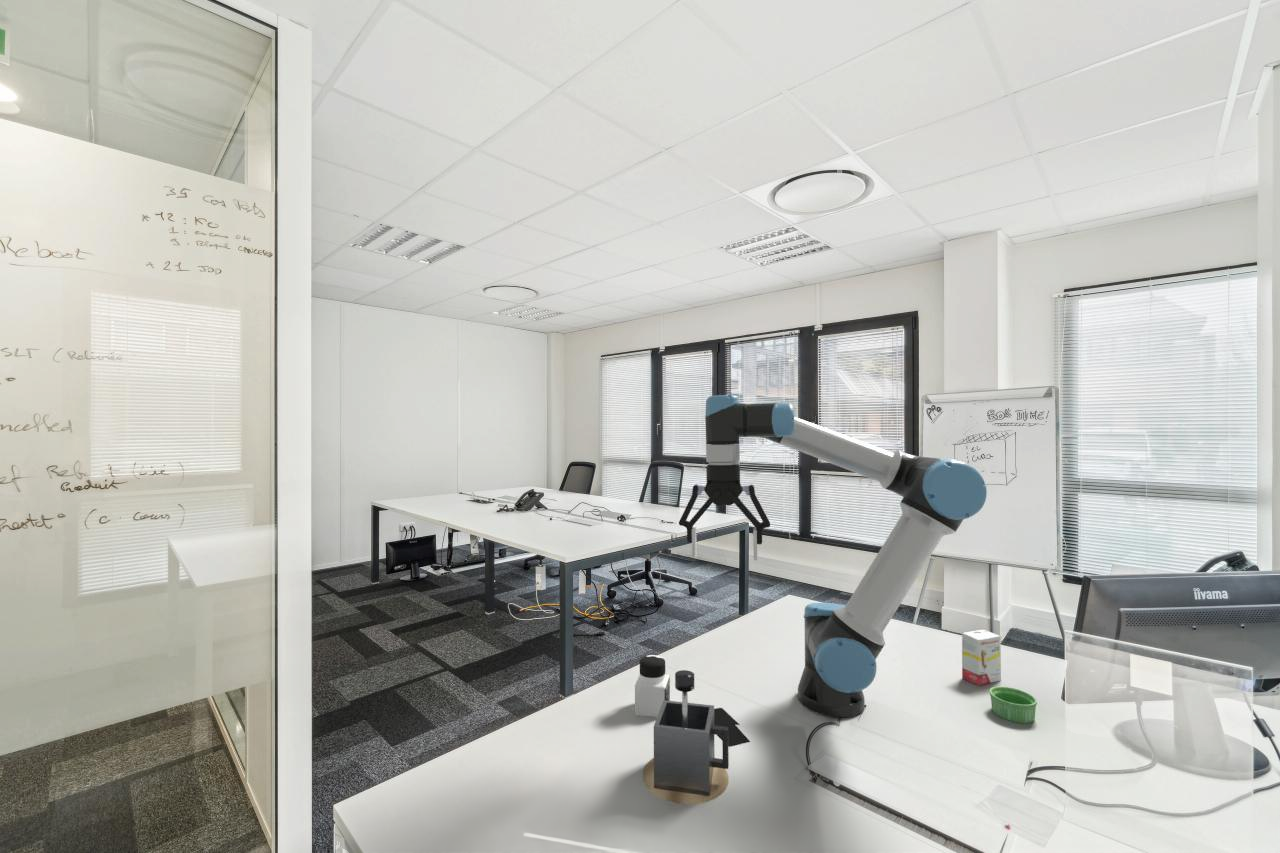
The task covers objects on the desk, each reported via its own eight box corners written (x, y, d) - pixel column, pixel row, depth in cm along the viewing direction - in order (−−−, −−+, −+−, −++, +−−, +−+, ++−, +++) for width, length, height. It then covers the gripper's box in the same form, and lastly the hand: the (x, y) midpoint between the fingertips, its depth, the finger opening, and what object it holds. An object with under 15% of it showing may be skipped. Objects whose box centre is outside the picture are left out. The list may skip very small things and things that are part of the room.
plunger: (705, 757, 103) (704, 668, 103) (701, 779, 96) (700, 684, 97) (670, 753, 104) (669, 665, 105) (664, 774, 98) (663, 680, 98)
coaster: (731, 757, 106) (731, 755, 106) (725, 812, 91) (725, 810, 91) (652, 747, 110) (652, 745, 110) (633, 798, 94) (633, 796, 94)
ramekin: (980, 707, 126) (979, 688, 126) (1012, 703, 128) (1011, 684, 128) (1014, 727, 117) (1013, 707, 117) (1047, 722, 119) (1047, 702, 119)
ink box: (978, 686, 136) (978, 639, 136) (961, 678, 141) (960, 633, 141) (1002, 681, 139) (1001, 635, 139) (984, 673, 144) (983, 628, 144)
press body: (730, 764, 103) (729, 707, 104) (726, 798, 94) (726, 735, 94) (663, 756, 106) (663, 700, 107) (653, 788, 97) (653, 726, 97)
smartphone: (721, 706, 126) (757, 740, 112) (721, 710, 126) (757, 744, 112) (695, 711, 123) (728, 746, 109) (695, 715, 123) (728, 751, 109)
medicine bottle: (665, 719, 121) (665, 665, 121) (634, 716, 122) (634, 663, 123) (670, 704, 128) (669, 653, 128) (640, 701, 129) (640, 651, 130)
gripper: (778, 462, 122) (780, 555, 122) (670, 463, 127) (672, 552, 127) (780, 464, 115) (782, 563, 114) (665, 464, 120) (667, 559, 119)
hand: (724, 558), depth 121 cm, fingers open, 13 cm apart
